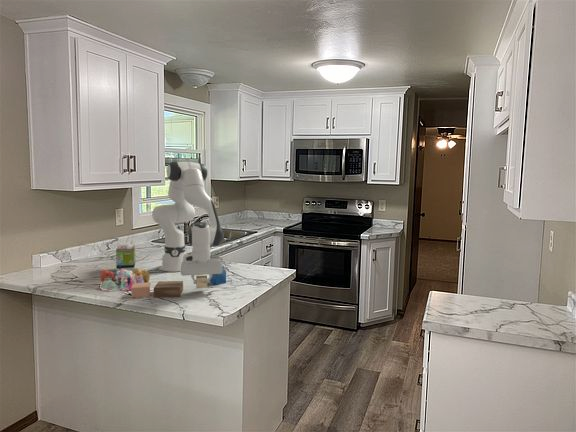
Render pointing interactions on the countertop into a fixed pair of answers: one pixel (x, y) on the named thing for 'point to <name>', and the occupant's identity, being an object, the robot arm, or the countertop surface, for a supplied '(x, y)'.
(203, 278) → the maple cube
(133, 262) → the tea box
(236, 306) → the countertop surface
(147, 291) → the terracotta block
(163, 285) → the walnut block
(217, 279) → the perfume bottle
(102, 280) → the candy landscape model
